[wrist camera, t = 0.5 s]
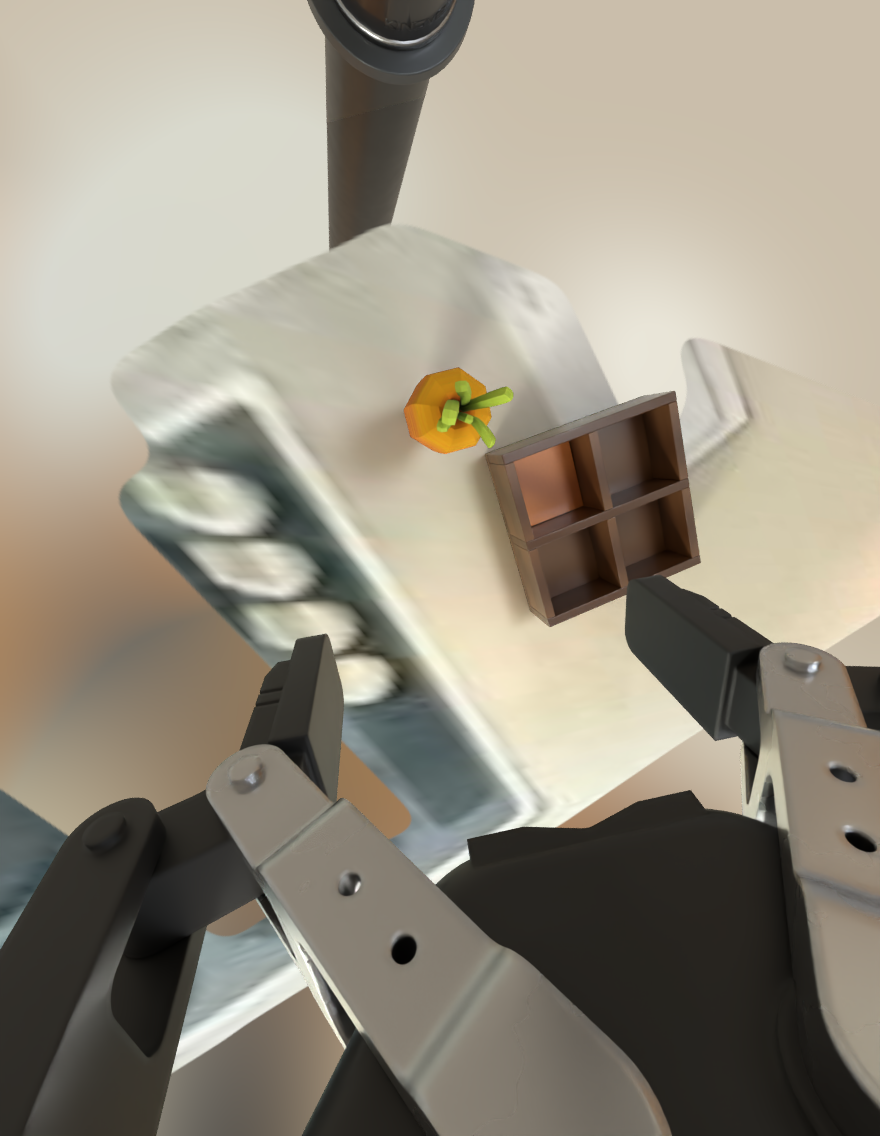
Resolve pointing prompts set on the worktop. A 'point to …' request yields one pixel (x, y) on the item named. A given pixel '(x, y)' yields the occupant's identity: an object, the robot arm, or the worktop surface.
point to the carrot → (452, 411)
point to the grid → (597, 505)
